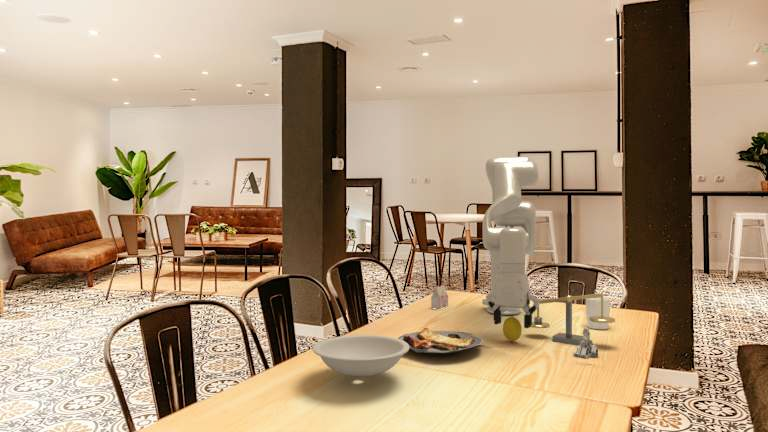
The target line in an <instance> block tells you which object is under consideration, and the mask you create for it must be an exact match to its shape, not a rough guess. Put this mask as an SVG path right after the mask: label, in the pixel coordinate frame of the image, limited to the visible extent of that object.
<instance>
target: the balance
mask: <svg viewBox="0 0 768 432" xmlns="http://www.w3.org/2000/svg"><path fill="white" fill-rule="evenodd" d="M599 297H601V316H592V317H589V320H590V321H593V322H599V323H609V324H612V323H615V322H616V318H614V317H612V316H611V317H610V316H609V317H605V316H603V297H604V293H602V292H601V293H591V294H584V295H574V296H573V295H570V294H569V295H566V296H565V297H558V298H557V297H556V298H547V299H539V300H540V301H541V302H540V304H539V306H538V308H537V310H536V316H534V317H533V321H532V325H531V327H530V328H533V329H547V328H550V326H551V325H550V323H548V322H544V321H543V317H541V316H540V305H541V304H543V305H544V304H549V303H551V304H553V303H558V302H559V303H561V302H565V332H558V333H555V334H554V335H552V337H551V339H552V342H556V343H563V344H570V345H575V346H580V344H581V341H583V335H578V334H573V301H578V300H585V299H589V298H599Z"/></svg>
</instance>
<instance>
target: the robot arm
mask: <svg viewBox="0 0 768 432" xmlns="http://www.w3.org/2000/svg"><path fill="white" fill-rule="evenodd" d="M485 173H486V176H487V179H488V182H489V184H490V187H491V193H492V195H491V196H492V198H491V199H492V203H491V205H489V207H488V209H486V211H485V213H484V215H483V218H482V243H483V247H484V249H486V250H487V251H489V256H490V258H489V259H490V293H489V294H486V296H485V299H482V301H481V303H482V305H485V306H488V307H486V312H488V313H490V314H493V321H494V323H493V324H494V325H499V324H501V323H502V316H503V315H506V316H513V315H517V314H520V313H521V309H522V310H523V312H524V313H525V314H524V315H523V327H524V329H530V328H532V327H531V325H532V322H533V314H534V313H535V312H537V308H538V306H539V307H540V305H541V304H540V302H541V301H540V300H541V299H539V298H537V297H536V296H534V295H533V294H531V291H530V282H529V277H528V273H526V256H527V255H531V254H533V253H534V252H535V249H536V244H537V243H536V242H537V240H536V238H537V237H536V236H537V235H536V233H537V228H536V227H537V226H536V225H537V214H536V211H537V210H536V207H535V205H534V204H533V203H532V202H531V201H528V200H527V201H525V200H524V201H523V199H522V187H531V186H535V185H536V184H537V183H538V182H539V181H538V180H539V167H538V164H537V162H536V161H535V159H534V158H533V157H531V156H497V157H491V158H489V159H487V160H486V162H485ZM492 222H493V224H495V225H496V226H493V227H492ZM531 302H532V303H533V305H532V306H531V305H530V304H531Z"/></svg>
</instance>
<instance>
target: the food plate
mask: <svg viewBox="0 0 768 432" xmlns="http://www.w3.org/2000/svg"><path fill="white" fill-rule="evenodd" d="M397 339H400V340H403V341H405V342H406V343H408V344H409V347H410V348H409V350H412V351H414V353H424V354H429V353H430V354H440V355H441V354H451V353H458V352H460V351H464V350H467V349H472V348H474V347H478V346H479V345H482V343H483V338H481V337H479V336H478V335H475V334H474V335H473V333H469V332H464V331H463V332H461V331H451V330H431V329H429V328H428V327H424V328H423V329H422V330H421V331H416V332H411V333H407V334H403V335H400V336H398V338H397Z"/></svg>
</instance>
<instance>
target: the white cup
mask: <svg viewBox="0 0 768 432" xmlns="http://www.w3.org/2000/svg"><path fill="white" fill-rule="evenodd" d="M584 300H585V316H586V325H587V328H588V329H593V330H594V329H595V330H607V329H609V325H610V323H599V322H593V321H590V320H589V317H592V316H601V297H599V298H589V299H584ZM610 309H611V298H609V297H605V296H603V316H605V317H610V313H611V310H610Z"/></svg>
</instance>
